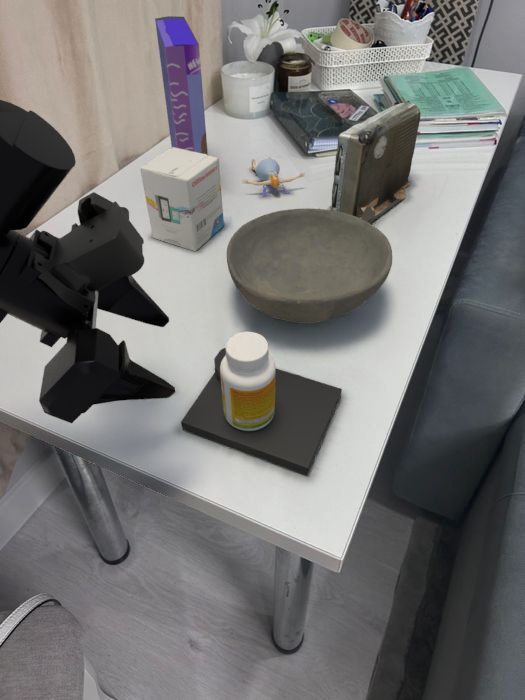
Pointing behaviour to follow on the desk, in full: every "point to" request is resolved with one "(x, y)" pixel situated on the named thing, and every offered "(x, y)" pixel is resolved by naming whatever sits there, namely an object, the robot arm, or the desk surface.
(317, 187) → the desk surface
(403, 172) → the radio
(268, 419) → the supplement bottle
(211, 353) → the desk surface
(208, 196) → the ink box
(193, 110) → the cereal box
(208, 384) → the scale
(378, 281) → the bowl
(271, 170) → the fairy figurine
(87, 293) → the robot arm
